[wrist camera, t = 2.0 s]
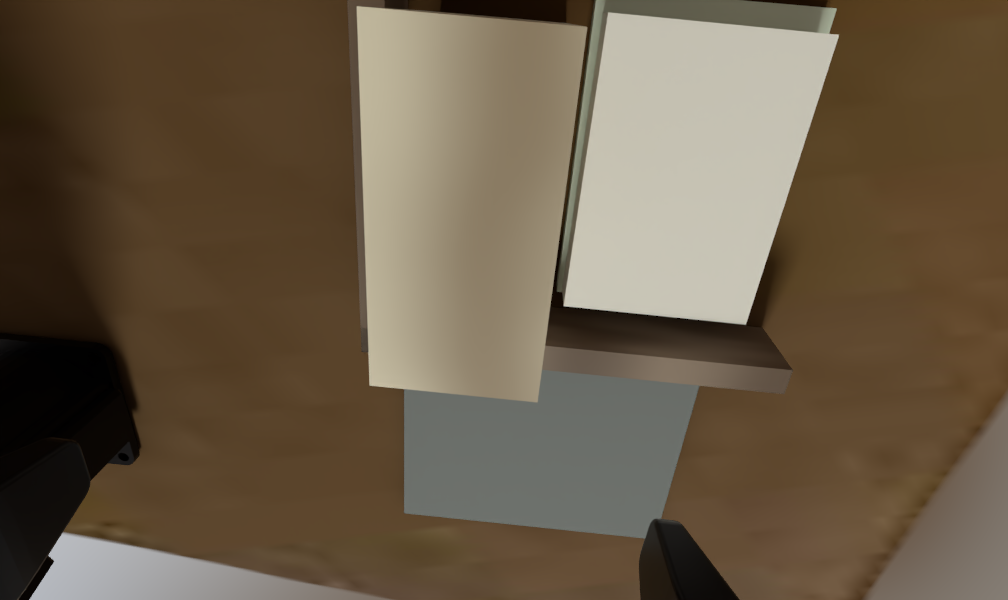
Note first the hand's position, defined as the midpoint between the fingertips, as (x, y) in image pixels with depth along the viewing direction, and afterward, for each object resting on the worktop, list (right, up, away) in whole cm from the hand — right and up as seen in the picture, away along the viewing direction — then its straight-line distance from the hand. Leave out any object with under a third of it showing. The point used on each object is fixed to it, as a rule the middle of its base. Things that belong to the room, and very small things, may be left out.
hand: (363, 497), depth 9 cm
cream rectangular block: (+2, +8, +11) cm, 14 cm away
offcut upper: (+8, +7, +10) cm, 15 cm away
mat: (+4, -3, +17) cm, 17 cm away
